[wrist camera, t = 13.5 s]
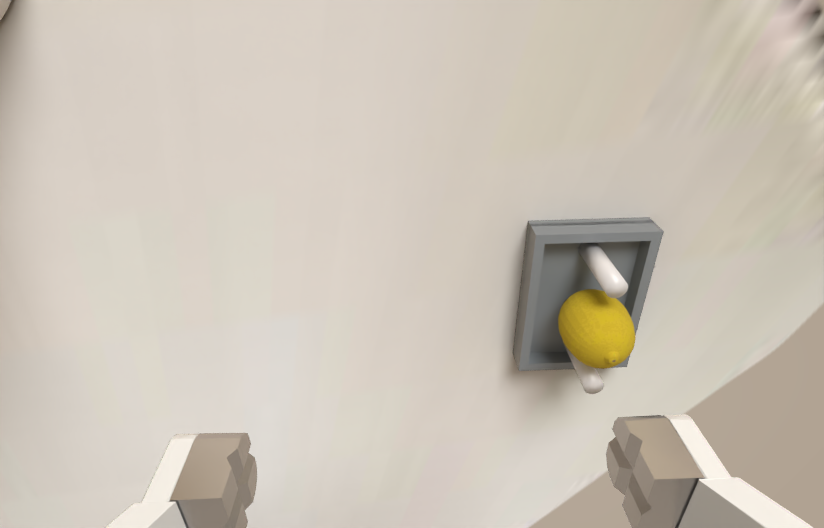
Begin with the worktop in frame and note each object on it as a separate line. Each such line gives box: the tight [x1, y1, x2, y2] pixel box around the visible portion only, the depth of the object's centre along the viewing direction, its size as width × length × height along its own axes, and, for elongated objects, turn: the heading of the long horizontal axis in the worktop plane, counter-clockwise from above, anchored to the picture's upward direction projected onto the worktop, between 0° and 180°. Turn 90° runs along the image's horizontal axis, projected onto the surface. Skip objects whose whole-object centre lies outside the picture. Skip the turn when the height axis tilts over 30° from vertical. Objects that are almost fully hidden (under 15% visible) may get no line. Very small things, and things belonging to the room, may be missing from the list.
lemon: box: [558, 289, 635, 369], centre depth 41 cm, size 6×6×8 cm
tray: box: [513, 218, 664, 394], centre depth 42 cm, size 14×10×7 cm
